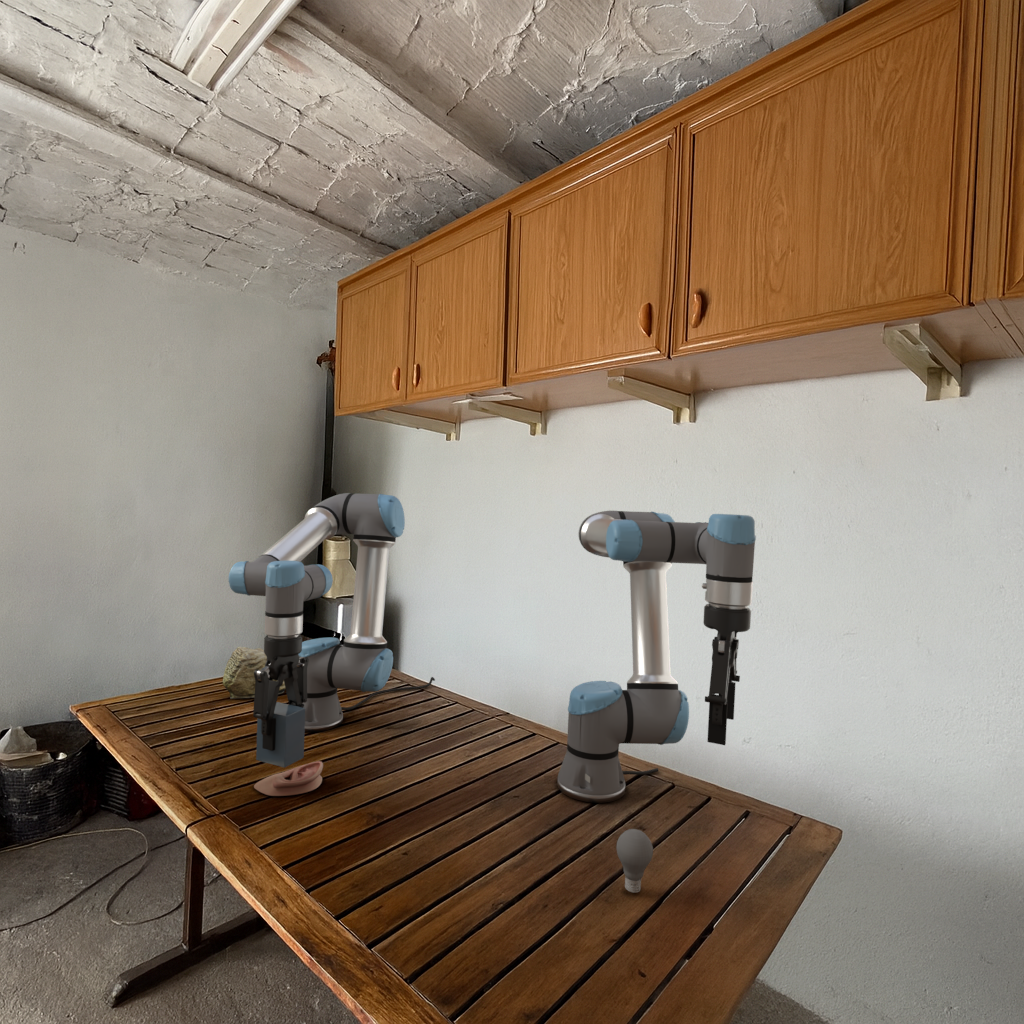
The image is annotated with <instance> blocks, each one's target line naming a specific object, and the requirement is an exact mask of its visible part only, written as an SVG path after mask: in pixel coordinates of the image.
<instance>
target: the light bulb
mask: <svg viewBox="0 0 1024 1024" xmlns="http://www.w3.org/2000/svg"><path fill="white" fill-rule="evenodd" d="M615 849H616V854H617V857H618V859H619V861H620V863H621V865H622V867H623V873H624V874H623V875H624V876H625V878H624V888H625V890H627V891H628V892H630V893H634V894H635V893H639V892H640V891H641V889H642V887H641V886H642V879H643V877H644V875H645V871H646V868H647V867H648V866H649V864H650V863H651V861H652V859H653V855H654V847H653V843H652V841H651V838H649V836H648V835H647V834H646V833H645V832H643V831H642V830H641V829H636V828H629V829H627V830H625V831H623V832H622V833H621V834H620V835H619V837H618V839H617V841H616V847H615Z"/></svg>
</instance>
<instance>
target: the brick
mask: <svg viewBox="0 0 1024 1024" xmlns="http://www.w3.org/2000/svg"><path fill="white" fill-rule="evenodd" d="M267 713H268V712H267ZM273 718H276V737H275V750H273V751H271V750H267V749H263V734H262V733H261V728H262V727H261V723H262V720H261V719H258V718H256V720H257V721H256V749H255V750H256V752H255V753H256V754H255V755H256V756H255V760H256V761H258V762H262V763H266V764H269V765H273V766H277V767H279V768H280V767H281V768H284V769H285V768H287V767H290V766H291V765H293V764H295V763H296V762H298V761H300V760H302V759H304V757H305V735H306V732H305V708H302V707H298V706H293V705H289V703H288V704H287V703H284V702H280V701H277V702H276V706H275V711H274V715H273Z"/></svg>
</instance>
